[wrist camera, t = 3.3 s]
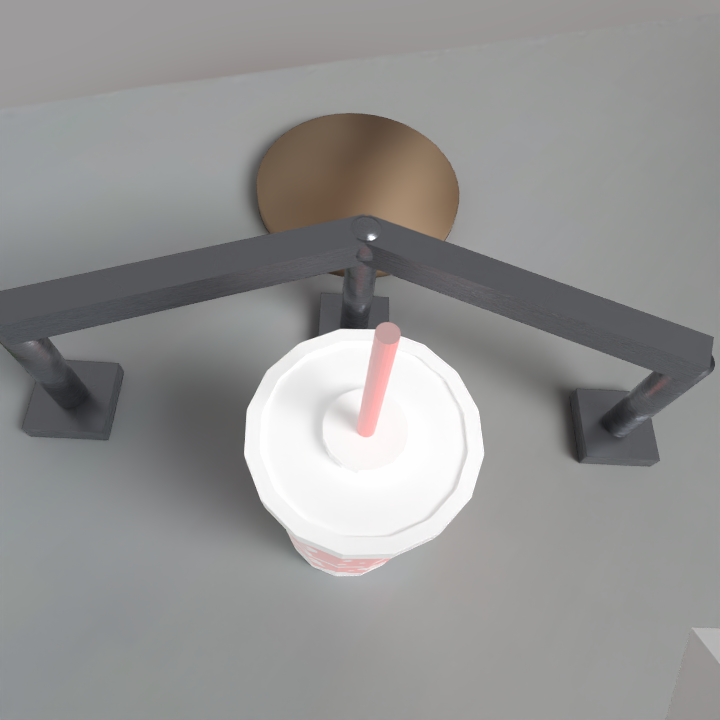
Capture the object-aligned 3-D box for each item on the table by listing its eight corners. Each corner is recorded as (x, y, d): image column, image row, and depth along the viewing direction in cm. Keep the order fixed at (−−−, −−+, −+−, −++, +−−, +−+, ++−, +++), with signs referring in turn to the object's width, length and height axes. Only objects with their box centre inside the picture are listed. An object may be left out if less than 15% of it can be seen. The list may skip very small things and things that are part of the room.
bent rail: (621, 321, 28) (714, 215, 22) (649, 466, 25) (770, 393, 19) (73, 287, 27) (-2, 163, 20) (30, 436, 24) (-76, 346, 17)
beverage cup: (235, 493, 23) (153, 289, 11) (364, 411, 25) (417, 160, 13) (324, 635, 21) (344, 582, 9) (457, 535, 23) (625, 377, 11)
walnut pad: (451, 132, 33) (454, 120, 33) (460, 284, 29) (464, 274, 28) (267, 118, 33) (267, 106, 32) (247, 270, 28) (245, 260, 27)
